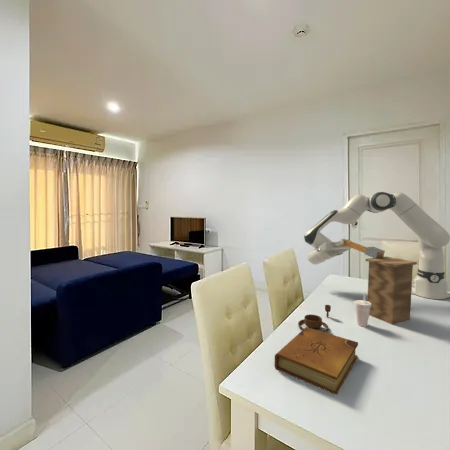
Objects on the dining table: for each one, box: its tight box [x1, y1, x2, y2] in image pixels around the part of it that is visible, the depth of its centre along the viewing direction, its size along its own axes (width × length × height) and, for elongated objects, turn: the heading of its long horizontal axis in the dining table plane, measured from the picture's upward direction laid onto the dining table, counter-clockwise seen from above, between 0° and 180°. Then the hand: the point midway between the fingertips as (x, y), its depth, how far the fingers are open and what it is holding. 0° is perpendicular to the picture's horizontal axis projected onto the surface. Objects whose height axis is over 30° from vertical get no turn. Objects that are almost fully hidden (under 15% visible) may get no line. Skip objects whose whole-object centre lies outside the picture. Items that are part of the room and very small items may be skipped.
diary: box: [274, 326, 359, 395], centre depth 86 cm, size 23×19×6 cm
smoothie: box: [354, 291, 371, 328], centre depth 112 cm, size 6×6×14 cm
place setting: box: [297, 304, 334, 335], centre depth 111 cm, size 18×20×6 cm
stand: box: [365, 255, 418, 326], centre depth 119 cm, size 14×14×26 cm
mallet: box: [340, 238, 385, 259], centre depth 132 cm, size 22×5×4 cm, turn 24°
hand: (346, 241), depth 140 cm, fingers closed on mallet, 2 cm apart
